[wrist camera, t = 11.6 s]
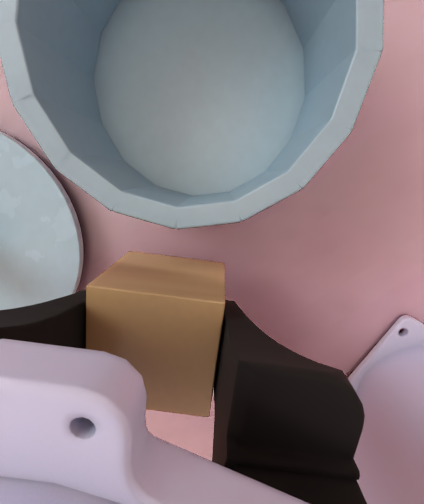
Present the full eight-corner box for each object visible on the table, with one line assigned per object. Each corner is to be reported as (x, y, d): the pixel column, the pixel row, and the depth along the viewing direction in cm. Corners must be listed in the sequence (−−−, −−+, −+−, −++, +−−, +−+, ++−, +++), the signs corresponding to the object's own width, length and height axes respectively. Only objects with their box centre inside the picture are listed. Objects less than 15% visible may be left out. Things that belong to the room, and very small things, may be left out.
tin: (272, 233, 16) (301, 266, 10) (67, 174, 16) (-22, 174, 10) (356, -9, 13) (460, -150, 7) (106, -91, 13) (12, -308, 7)
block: (213, 346, 14) (209, 418, 10) (125, 335, 14) (84, 402, 10) (224, 262, 13) (225, 302, 9) (129, 250, 13) (85, 285, 9)
